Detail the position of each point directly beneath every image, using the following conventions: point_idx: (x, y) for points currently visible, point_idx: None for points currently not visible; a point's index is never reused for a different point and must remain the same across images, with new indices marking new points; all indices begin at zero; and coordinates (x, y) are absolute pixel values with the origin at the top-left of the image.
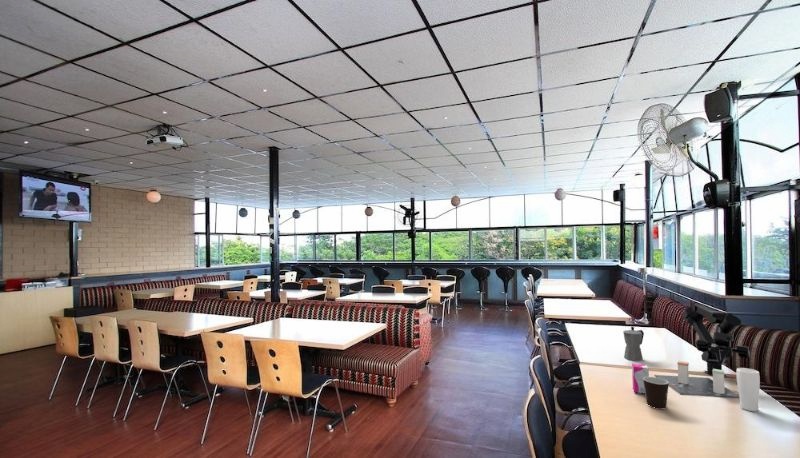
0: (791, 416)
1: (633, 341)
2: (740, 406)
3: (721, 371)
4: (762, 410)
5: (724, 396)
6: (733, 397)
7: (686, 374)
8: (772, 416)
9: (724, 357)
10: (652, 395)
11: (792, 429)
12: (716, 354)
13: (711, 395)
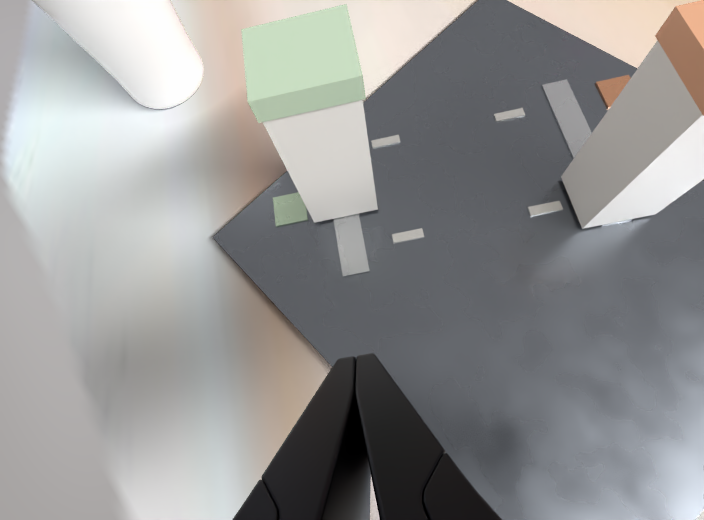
0: (9, 150)
1: None
2: (200, 56)
3: (263, 42)
4: (119, 119)
5: None
6: (260, 199)
7: (609, 118)
8: (84, 78)
9: (261, 481)
10: None
11: (32, 6)
12: (482, 501)
13: None
